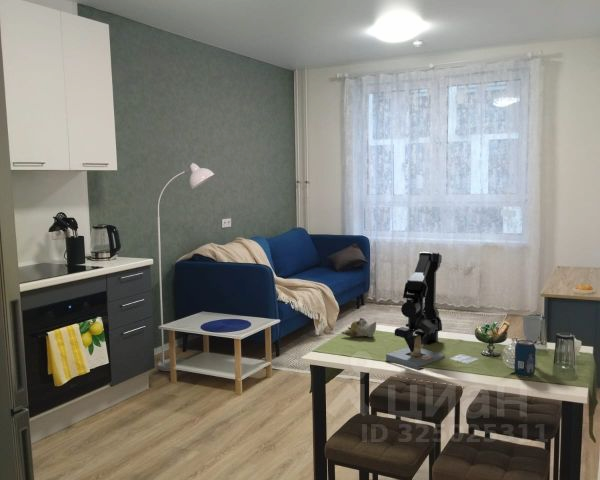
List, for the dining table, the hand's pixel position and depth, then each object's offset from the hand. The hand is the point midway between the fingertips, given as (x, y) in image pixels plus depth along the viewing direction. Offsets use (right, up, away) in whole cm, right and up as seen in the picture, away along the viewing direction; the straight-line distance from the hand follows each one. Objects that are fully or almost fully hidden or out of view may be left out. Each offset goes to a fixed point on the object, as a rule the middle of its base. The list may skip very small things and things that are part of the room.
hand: (415, 350), depth 221 cm
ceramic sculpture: (-18, -1, +35) cm, 39 cm away
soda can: (+36, -6, -16) cm, 40 cm away
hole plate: (0, -4, 0) cm, 4 cm away
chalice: (+43, -4, -5) cm, 43 cm away
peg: (0, -2, 0) cm, 2 cm away
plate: (+18, -4, -3) cm, 19 cm away
